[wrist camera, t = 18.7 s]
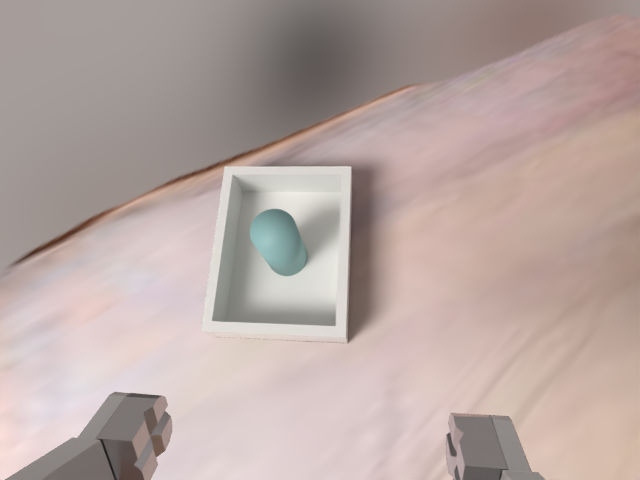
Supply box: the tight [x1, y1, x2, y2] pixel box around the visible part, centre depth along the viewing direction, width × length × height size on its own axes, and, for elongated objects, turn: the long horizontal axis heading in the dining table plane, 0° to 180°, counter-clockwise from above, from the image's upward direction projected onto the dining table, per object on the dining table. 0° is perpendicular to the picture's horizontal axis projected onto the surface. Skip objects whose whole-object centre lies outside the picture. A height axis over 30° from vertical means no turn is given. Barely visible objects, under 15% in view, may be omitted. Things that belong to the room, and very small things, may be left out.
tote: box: [200, 166, 352, 343], centre depth 44 cm, size 14×18×5 cm
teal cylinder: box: [250, 209, 307, 276], centre depth 42 cm, size 4×4×8 cm
